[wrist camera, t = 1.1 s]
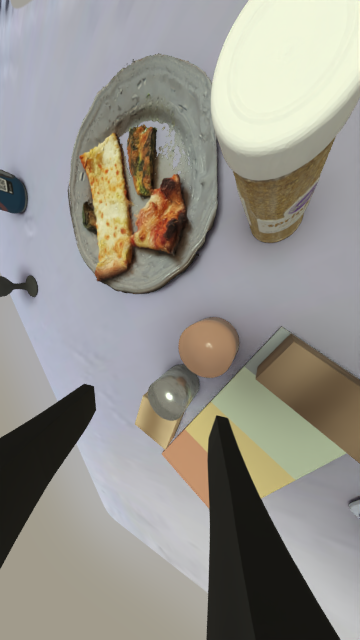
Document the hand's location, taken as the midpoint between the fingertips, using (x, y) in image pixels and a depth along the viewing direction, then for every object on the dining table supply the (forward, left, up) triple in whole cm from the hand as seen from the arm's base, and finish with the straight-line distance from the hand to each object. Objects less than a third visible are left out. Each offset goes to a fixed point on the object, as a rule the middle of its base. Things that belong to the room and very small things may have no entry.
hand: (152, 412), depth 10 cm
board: (-10, +7, -13) cm, 18 cm away
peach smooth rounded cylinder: (0, 0, -13) cm, 13 cm away
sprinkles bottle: (+3, -14, -13) cm, 20 cm away
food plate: (+20, -9, -14) cm, 26 cm away
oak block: (0, +15, -14) cm, 20 cm away
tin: (0, +8, -13) cm, 15 cm away
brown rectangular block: (-10, -4, -13) cm, 17 cm away
